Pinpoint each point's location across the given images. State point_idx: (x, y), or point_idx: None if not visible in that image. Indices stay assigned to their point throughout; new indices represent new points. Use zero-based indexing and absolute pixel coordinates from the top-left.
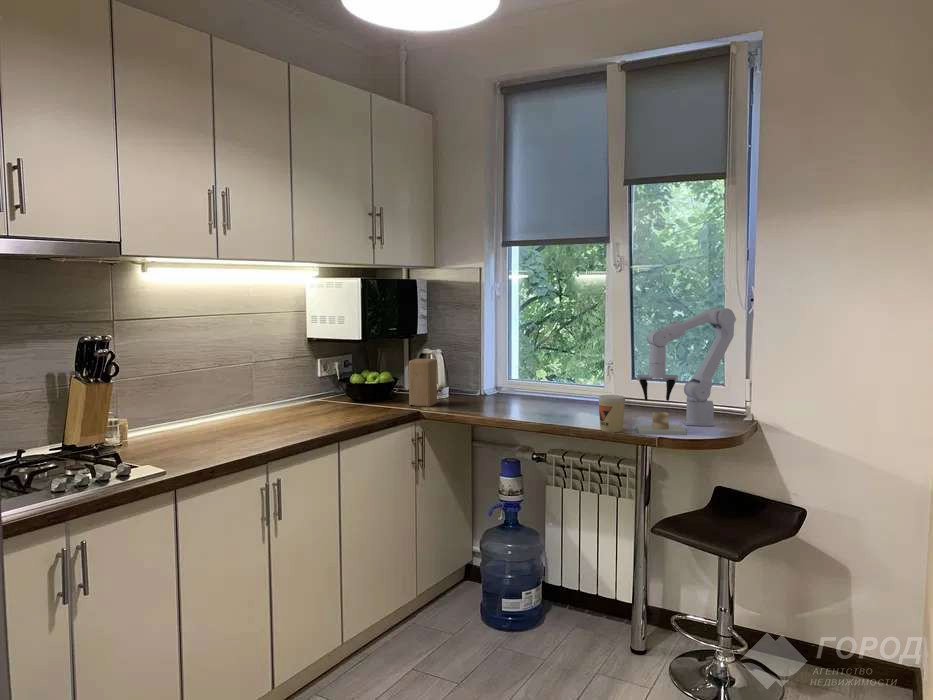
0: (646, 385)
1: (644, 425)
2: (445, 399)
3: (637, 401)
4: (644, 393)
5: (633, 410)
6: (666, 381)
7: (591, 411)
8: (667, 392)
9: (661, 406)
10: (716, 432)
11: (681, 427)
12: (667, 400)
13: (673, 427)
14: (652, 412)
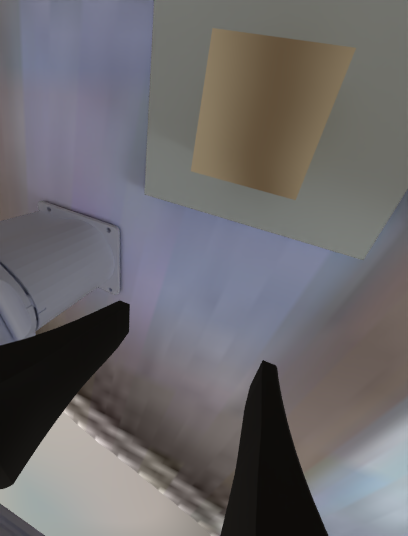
0: (271, 532)
1: (336, 206)
2: None
3: (168, 495)
4: (287, 424)
5: (210, 456)
6: (9, 479)
7: (341, 510)
8: (83, 349)
9: (134, 448)
10: (32, 62)
11: (157, 115)
12: (126, 304)
13: (196, 119)
14: (298, 192)
